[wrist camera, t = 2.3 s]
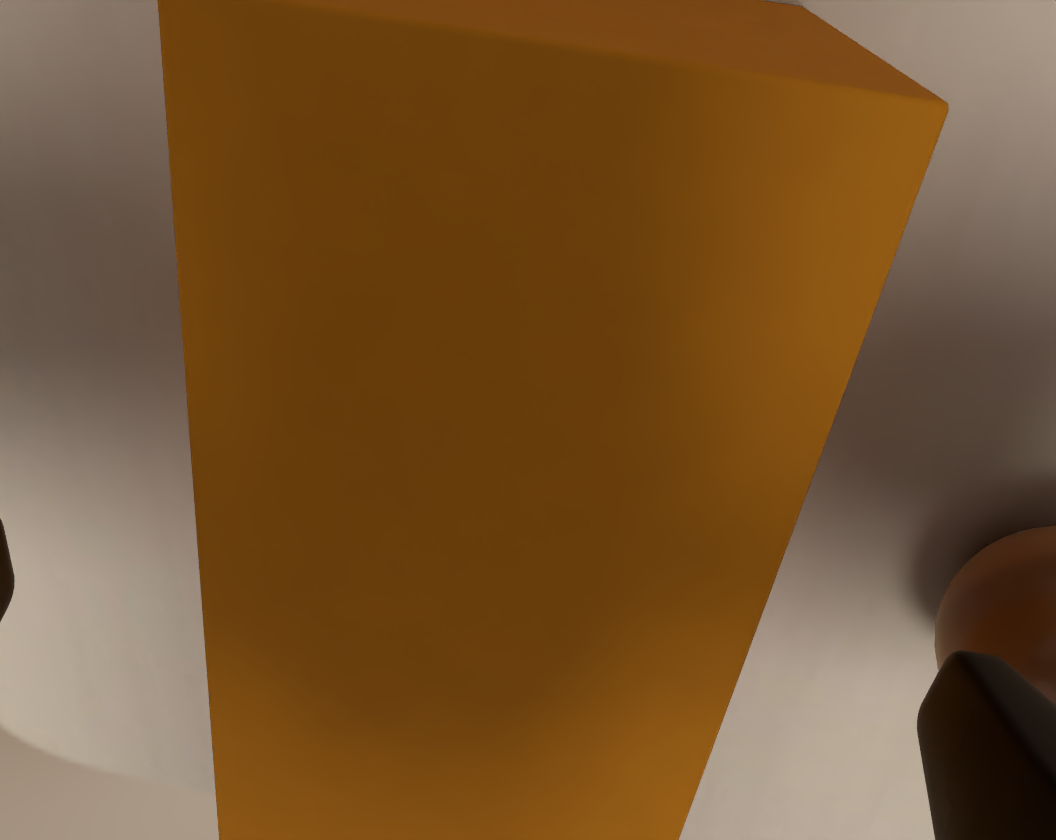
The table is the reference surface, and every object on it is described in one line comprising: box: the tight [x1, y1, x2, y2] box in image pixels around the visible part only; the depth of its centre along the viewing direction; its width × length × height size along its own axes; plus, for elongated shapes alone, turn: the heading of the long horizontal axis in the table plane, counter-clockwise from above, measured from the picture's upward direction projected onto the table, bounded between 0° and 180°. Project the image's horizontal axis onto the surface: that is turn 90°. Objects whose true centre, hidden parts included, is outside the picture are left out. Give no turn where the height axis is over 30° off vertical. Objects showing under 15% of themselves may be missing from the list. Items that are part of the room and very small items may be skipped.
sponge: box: [158, 0, 948, 840], centre depth 11 cm, size 10×6×5 cm, turn 172°
